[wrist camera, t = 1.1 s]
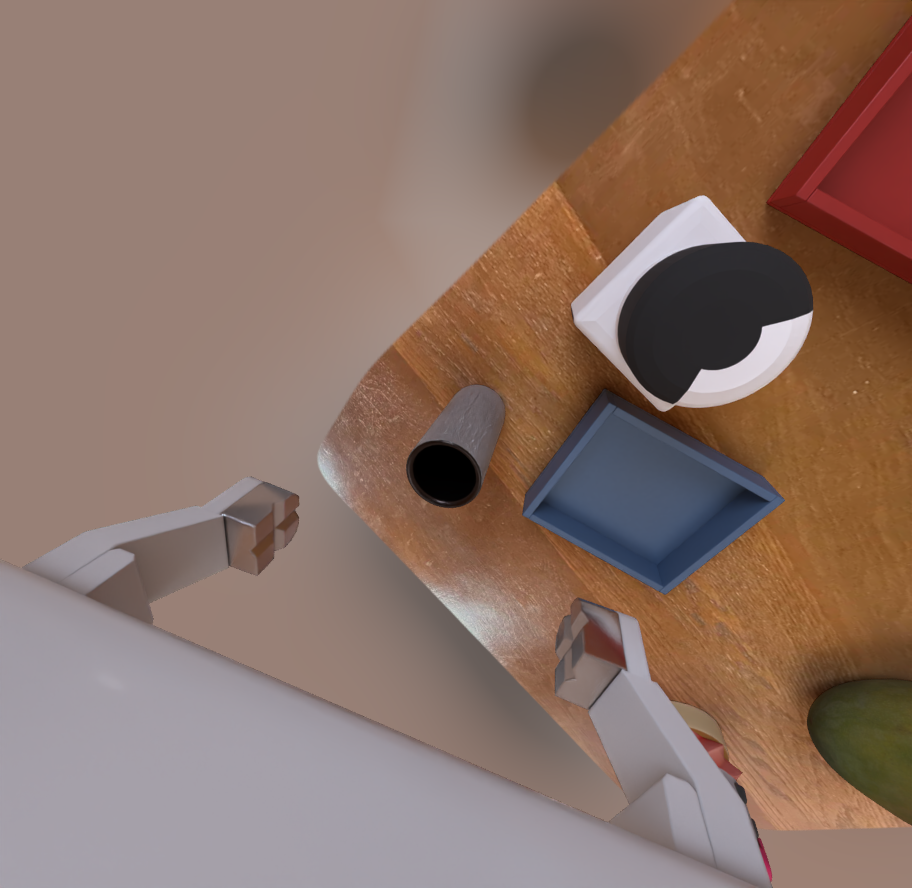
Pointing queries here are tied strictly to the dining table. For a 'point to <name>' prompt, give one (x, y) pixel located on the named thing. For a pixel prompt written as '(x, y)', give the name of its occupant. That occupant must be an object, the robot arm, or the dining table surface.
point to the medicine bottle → (697, 310)
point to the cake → (717, 755)
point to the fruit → (868, 739)
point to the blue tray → (645, 494)
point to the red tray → (863, 167)
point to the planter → (457, 448)
